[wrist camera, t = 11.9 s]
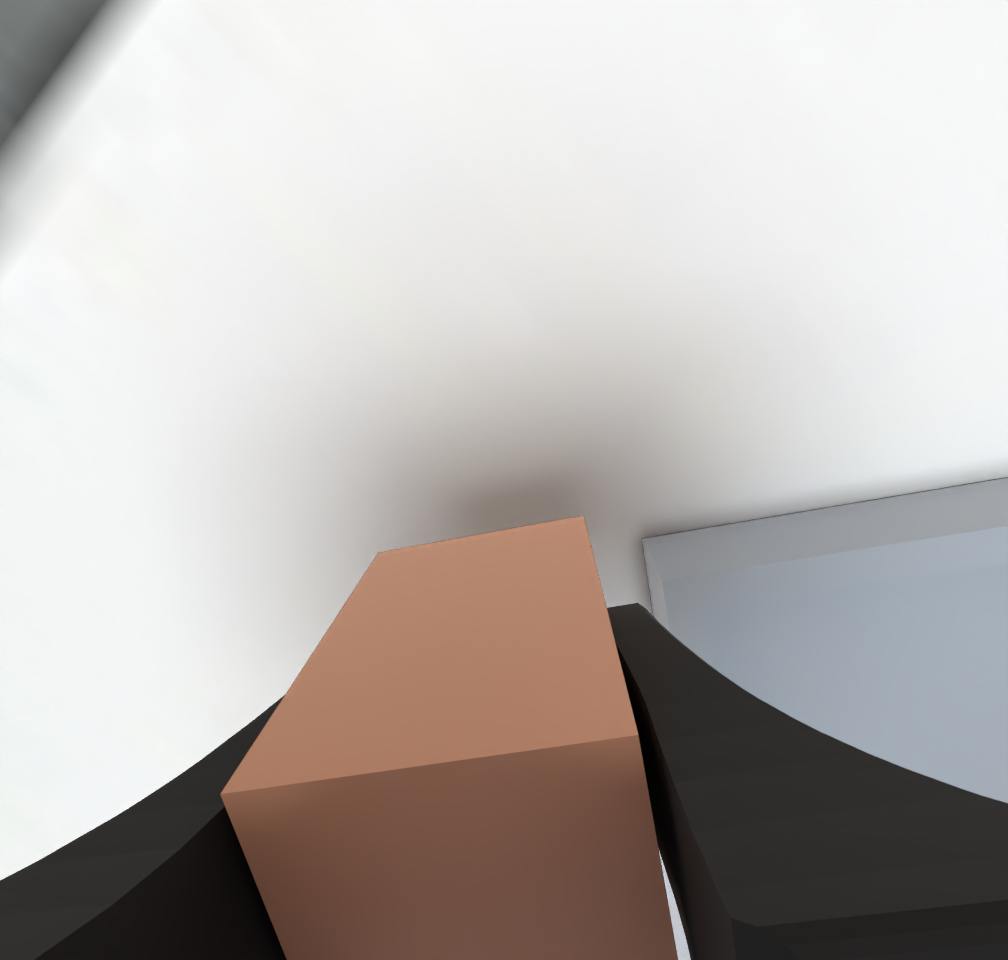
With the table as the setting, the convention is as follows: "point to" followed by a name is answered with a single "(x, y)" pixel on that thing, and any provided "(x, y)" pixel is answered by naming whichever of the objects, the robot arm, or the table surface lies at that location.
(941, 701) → the slate tray
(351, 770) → the terracotta block
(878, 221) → the table surface
